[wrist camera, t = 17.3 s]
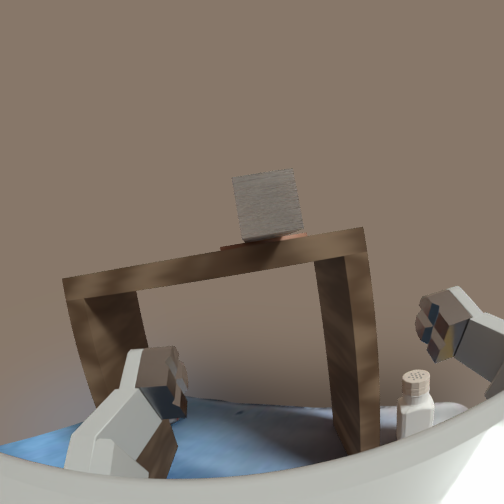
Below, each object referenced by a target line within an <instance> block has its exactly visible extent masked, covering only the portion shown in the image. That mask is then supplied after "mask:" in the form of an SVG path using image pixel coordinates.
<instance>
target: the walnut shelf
mask: <svg viewBox="0 0 504 504" xmlns="http://www.w3.org/2000/svg"><path fill="white" fill-rule="evenodd" d="M220 249H221V251H217V252H211V253H205V254H199V255H193V256H188V257H183V258H176V259H170V260H165V261H159V262H153V263H148V264H142V265H136V266H131V267H125V268H119V269H114V270H108V271H102V272H97V273H92V274H86V275H80V276H75V277H70V278H63V279H62V281H63V287H64V292H65V297H66V302H67V307H68V312H69V316H70V321H71V325H72V329H73V333H74V338H75V341H76V345H77V349H78V353H79V356H80V360H81V363H82V367H83V370H84V373H85V376H86V380H87V383H88V386H89V389H90V392H91V395H92V398H93V400H94V403H95V406H96V409H97V408H98V407H99V405H100V404H101V403H102V402H103V401H104V400H105V399H106V398H107V397H108V396H109V395H110V394H111V393H112V392H113V391H114V390H115V389H119V387H120V382H121V378H122V374H123V370H124V366H125V362H126V358H127V354H128V352H129V351H130V350H131V349H144V348H148V343H147V339H146V335H145V331H144V326H143V322H142V318H141V313H140V308H139V303H138V298H137V293H136V291H137V290H144V289H151V288H158V287H164V286H170V285H177V284H183V283H189V282H196V281H202V280H207V279H214V278H220V277H226V276H232V275H238V274H244V273H250V272H255V271H262V270H267V269H273V268H279V267H284V266H290V265H296V264H302V263H307V262H313V261H314V266H315V272H316V279H317V285H318V292H319V299H320V306H321V313H322V320H323V329H324V337H325V344H326V353H327V362H328V371H329V381H330V391H331V401H332V412H333V424H334V427H335V429H336V432H337V434H338V436H339V438H340V440H341V442H342V444H343V447H344V449H345V451H346V453H347V455H348V456H349V455H353V454H356V453H360V452H363V451H367V450H370V449H373V448H376V447H379V446H380V391H379V390H380V388H379V363H378V347H377V333H376V321H375V311H374V302H373V293H372V284H371V276H370V268H369V261H368V254H367V248H366V241H365V235H364V229H363V227H359V228H353V229H347V230H341V231H335V232H329V233H323V234H317V235H311V236H307V233H301V234H295V235H289V236H283V237H277V238H271V239H265V240H259V241H253V242H247V243H242V244H236V245H230V246H224V247H220ZM177 448H178V445H177V442H176V439H175V436H174V433H173V430H172V427H171V424H170V421H169V419H163V420H162V422H161V423H160V425H159V426H158V428H157V429H156V431H155V432H154V434H153V435H152V437H151V438H150V440H149V441H148V443H147V444H146V446H145V447H144V449H143V450H142V452H141V453H140V455H139V456H138V458H137V459H136V462H137V463H139V464H140V465H141V466H142V467H143V468H145V469H146V470H147V471H148V472H149V477H148V478H153V479H166V478H167V475H168V472H169V470H170V467H171V464H172V461H173V459H174V456H175V453H176V450H177Z"/></svg>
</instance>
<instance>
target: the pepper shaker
mask: <svg viewBox="0 0 504 504" xmlns="http://www.w3.org/2000/svg"><path fill="white" fill-rule="evenodd" d="M429 383H430V373H429V372H427V371H425V370H413V371H410V372H407V373H406V374H404V375H403V378H402V393H403V396H402V397H400V398H399V399H398V400H397V427H396V437H397V440H400V439H402V438H405V437H408V436H410V435H413V434H415V433H418V432H420V431H423V430H425V429H428V428H430V427H432V426H433V418H434V407H435V406H434V402H433V400H432V397H431V396H430V394H429V389H430V387H429Z"/></svg>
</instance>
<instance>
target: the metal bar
mask: <svg viewBox="0 0 504 504" xmlns="http://www.w3.org/2000/svg"><path fill="white" fill-rule="evenodd" d="M232 182H233V188H234V194H235V200H236V206H237V212H238V218H239V224H240V230H241V236H242V239H243V240H244V242H245V243H247V242H253V241H259V240H265V239H271V238H277V237H283V236H285V235H288V234H291V233H293V232H296V231H299V230H301V229H304V226H303V221H302V215H301V210H300V204H299V199H298V194H297V189H296V183H295V178H294V173H293V169H292V168H291V169H284V170H278V171H271V172H264V173H258V174H252V175H245V176H240V177H234V178H232Z"/></svg>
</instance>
